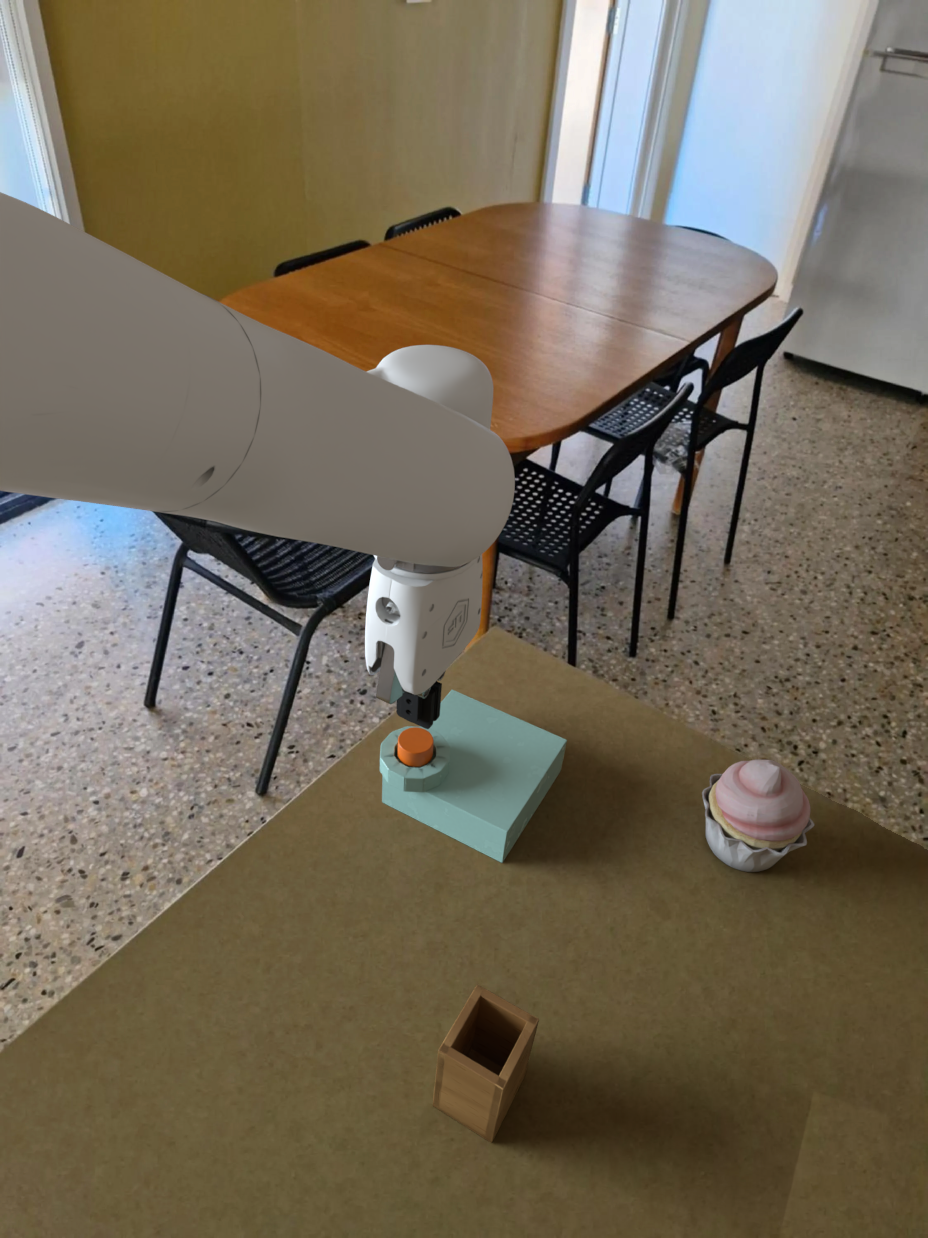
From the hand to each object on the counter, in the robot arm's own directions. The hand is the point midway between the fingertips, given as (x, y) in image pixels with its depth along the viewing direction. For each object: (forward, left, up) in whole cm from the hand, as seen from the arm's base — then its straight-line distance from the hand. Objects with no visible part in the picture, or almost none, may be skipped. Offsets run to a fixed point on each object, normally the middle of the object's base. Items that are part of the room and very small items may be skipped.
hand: (417, 716), depth 73 cm
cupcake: (+11, -27, -10) cm, 31 cm away
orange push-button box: (+4, -4, -10) cm, 12 cm away
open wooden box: (-19, -17, -10) cm, 27 cm away
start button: (0, 0, -4) cm, 4 cm away
